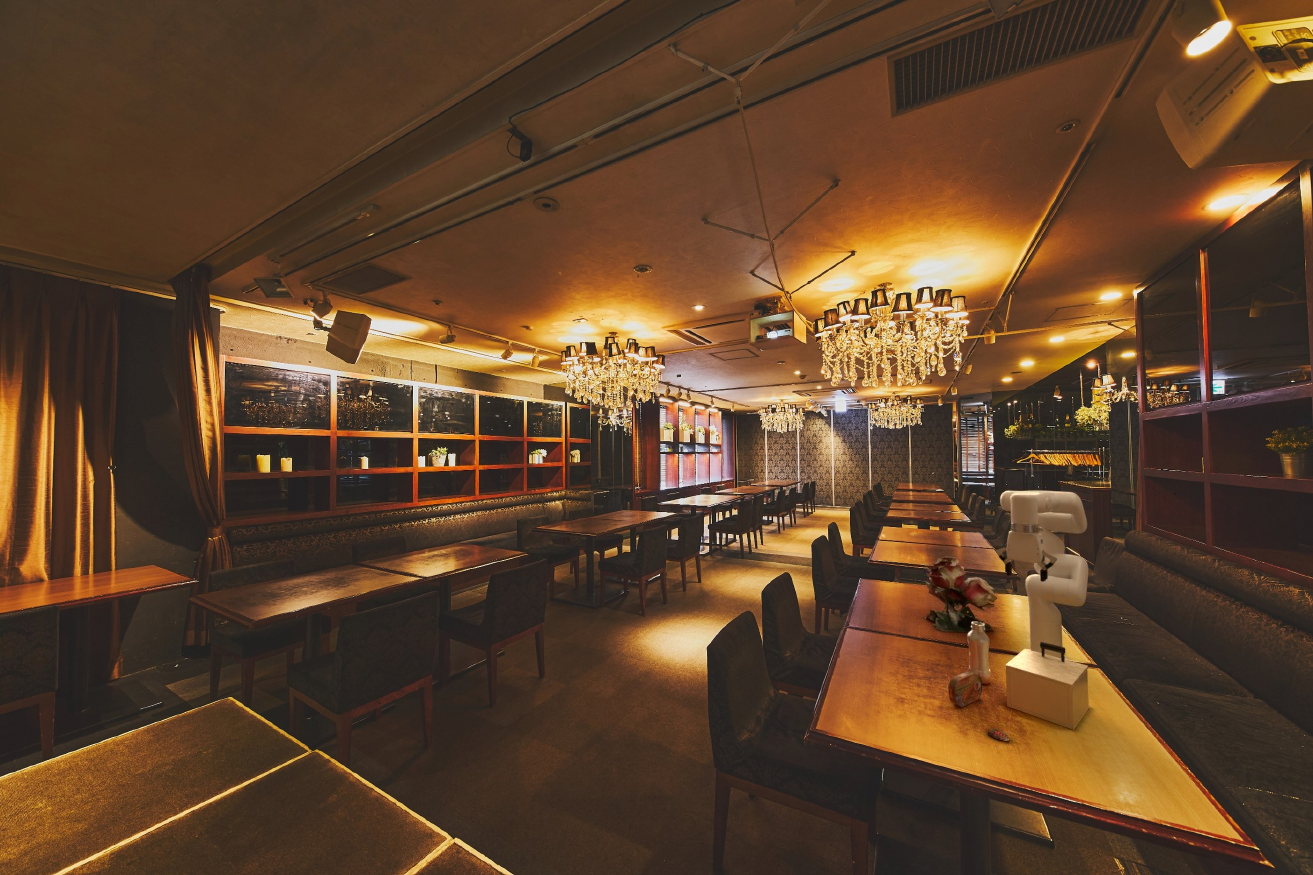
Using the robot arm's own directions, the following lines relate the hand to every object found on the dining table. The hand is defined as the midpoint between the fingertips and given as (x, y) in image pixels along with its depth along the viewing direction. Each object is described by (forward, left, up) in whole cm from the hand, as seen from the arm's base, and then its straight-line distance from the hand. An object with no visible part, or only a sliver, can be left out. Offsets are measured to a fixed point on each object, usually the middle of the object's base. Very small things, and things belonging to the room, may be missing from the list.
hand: (1025, 577), depth 163 cm
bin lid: (+16, +9, -23) cm, 30 cm away
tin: (+32, -8, -36) cm, 49 cm away
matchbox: (+45, +5, -36) cm, 58 cm away
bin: (+16, +9, -35) cm, 40 cm away
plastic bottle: (+14, -10, -36) cm, 40 cm away
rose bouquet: (-41, -38, -36) cm, 66 cm away
